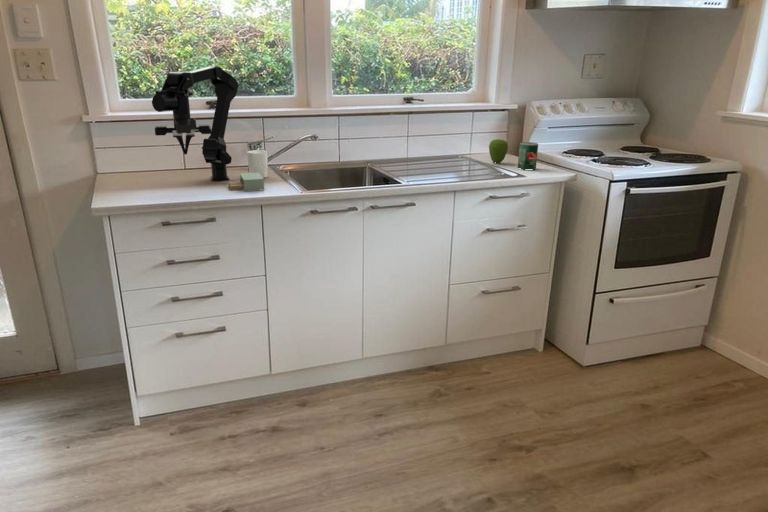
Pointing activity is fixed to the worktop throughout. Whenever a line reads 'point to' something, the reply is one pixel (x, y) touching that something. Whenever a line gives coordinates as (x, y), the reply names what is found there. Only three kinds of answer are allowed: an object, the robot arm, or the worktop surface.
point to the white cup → (258, 162)
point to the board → (236, 185)
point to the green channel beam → (252, 181)
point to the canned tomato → (527, 155)
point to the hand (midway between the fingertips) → (185, 154)
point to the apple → (498, 150)
